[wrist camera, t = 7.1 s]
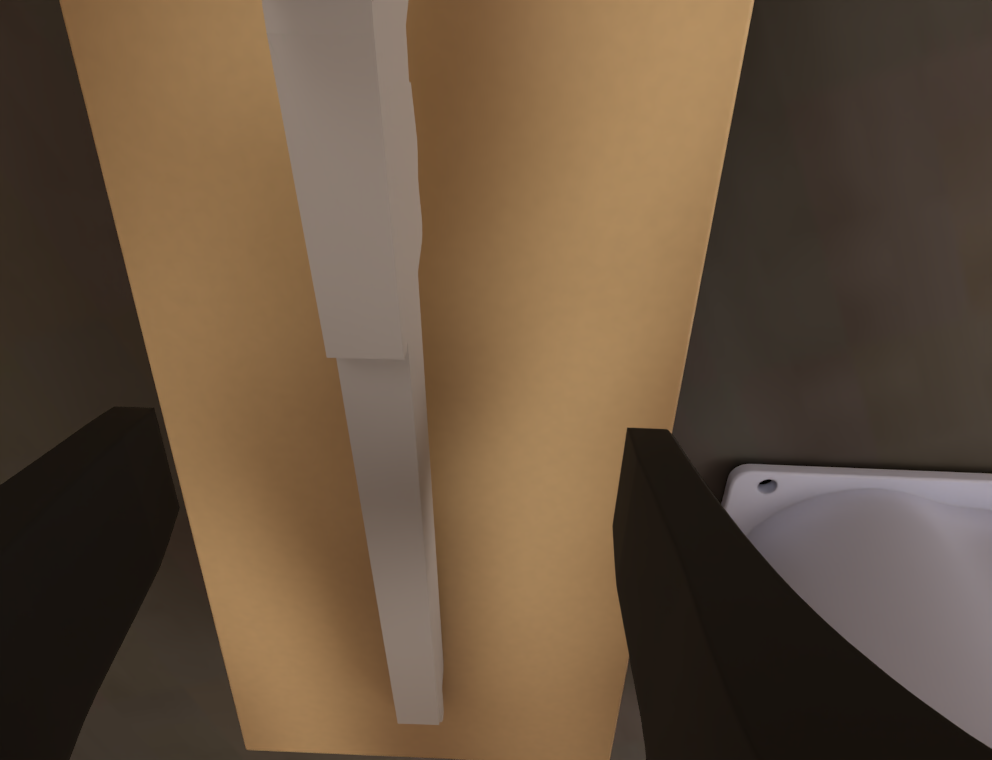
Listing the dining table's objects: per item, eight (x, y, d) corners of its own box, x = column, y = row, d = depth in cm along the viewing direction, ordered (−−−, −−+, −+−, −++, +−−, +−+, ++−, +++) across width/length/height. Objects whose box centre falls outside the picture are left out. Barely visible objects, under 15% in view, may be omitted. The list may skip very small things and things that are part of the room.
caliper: (327, -353, 10) (97, -552, 4) (422, -350, 10) (300, -550, 4) (405, 702, 21) (366, 989, 16) (448, 704, 21) (423, 991, 16)
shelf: (770, -559, 12) (901, -761, 8) (595, 620, 27) (609, 766, 22) (87, -581, 12) (-141, -791, 8) (288, 606, 27) (245, 751, 23)
